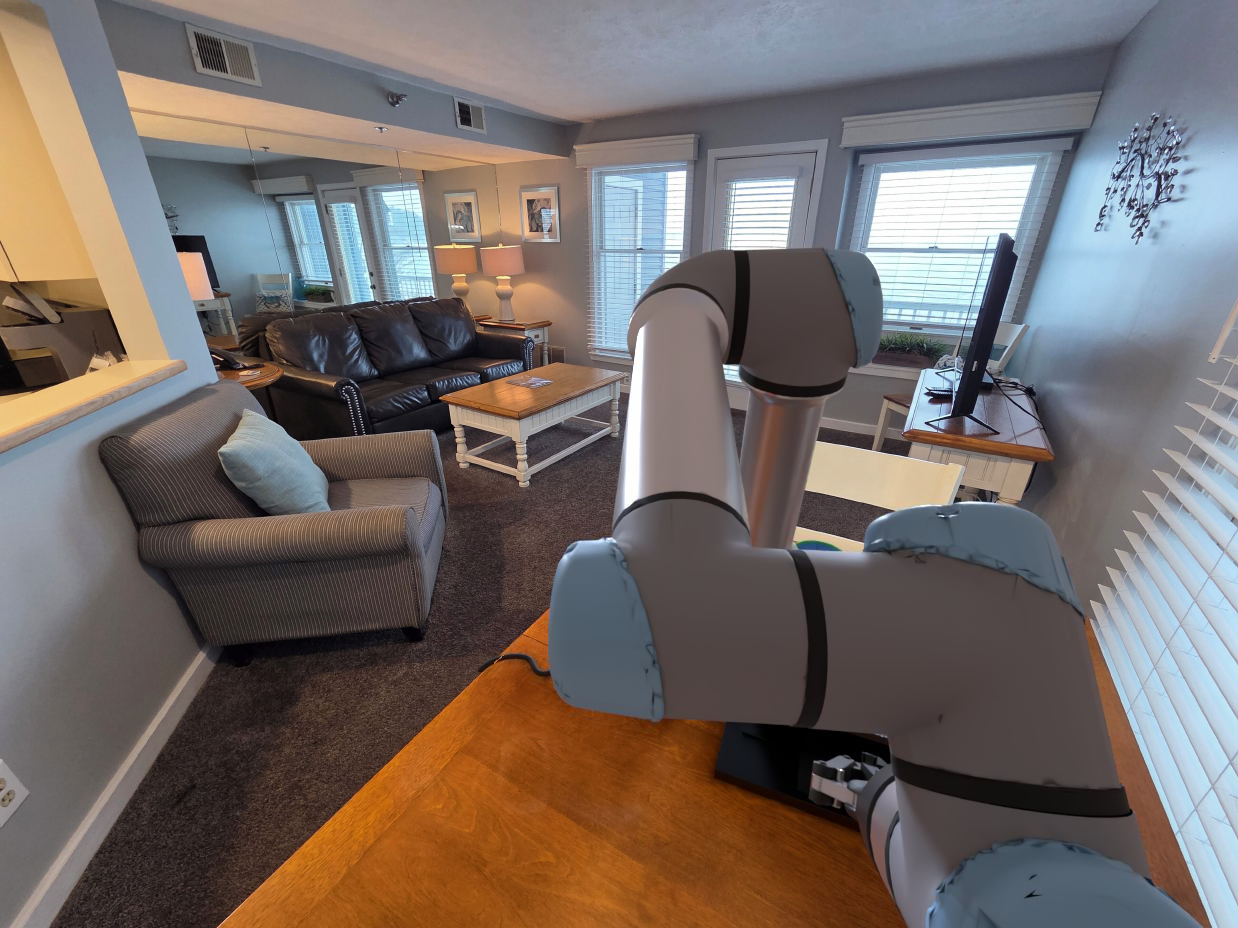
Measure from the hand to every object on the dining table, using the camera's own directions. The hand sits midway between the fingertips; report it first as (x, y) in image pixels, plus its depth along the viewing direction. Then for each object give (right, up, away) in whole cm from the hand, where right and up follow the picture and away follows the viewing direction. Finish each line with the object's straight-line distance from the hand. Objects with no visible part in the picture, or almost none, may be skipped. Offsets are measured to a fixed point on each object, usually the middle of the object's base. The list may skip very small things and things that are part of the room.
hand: (869, 769), depth 48 cm
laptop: (+7, -11, +22) cm, 26 cm away
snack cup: (+14, +3, +51) cm, 53 cm away
